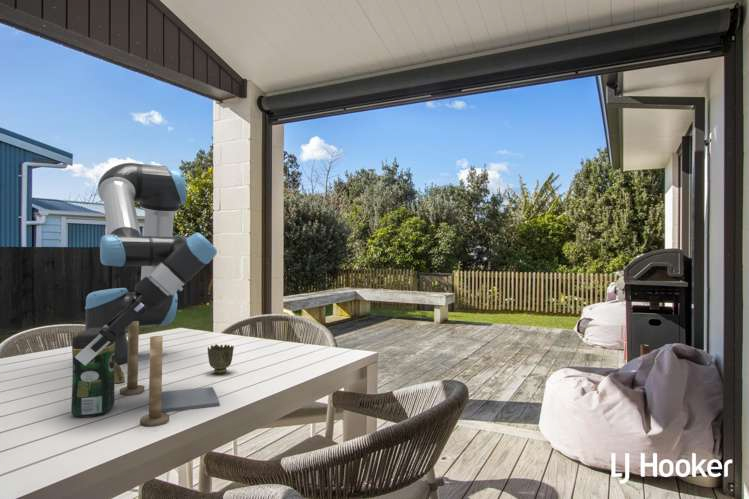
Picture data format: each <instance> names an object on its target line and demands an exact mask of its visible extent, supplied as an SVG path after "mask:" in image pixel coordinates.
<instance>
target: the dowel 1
mask: <svg viewBox="0 0 749 499" xmlns="http://www.w3.org/2000/svg"><path fill="white" fill-rule="evenodd" d="M139 328H140V327H139V321H133V322H132V323H131V324H130V325H129V326H128V328H127V335H128V336H127V340H128V362H127V372H126V373H127V374H126V375H127V378H126V380H127V381H126V386H123V387H121V388H120V389H119V395H121V396H135V395H140V394H143V393H144V392H145V385H139V384H138V382H139V381H138V380H139V379H138V378H139V377H138V376H139V339H140V338H139V336H140V334H139V332H140V329H139Z"/></svg>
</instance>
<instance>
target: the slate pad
mask: <svg viewBox="0 0 749 499" xmlns="http://www.w3.org/2000/svg"><path fill="white" fill-rule="evenodd" d="M220 406H221V403H220V400H219V398H218V396H217V394H216V391H215V389H214V387H213V386H207V387H206V386H205V387H197V388H196V387H195V388H188V389H187V388H186V389H178V390H177V389H176V390H167V391H166V390H165V391H162V395H161V413H168V412H169V413H170V412H177V411H187V410H195V409H203V408H204V409H205V408H211V407H220Z"/></svg>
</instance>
